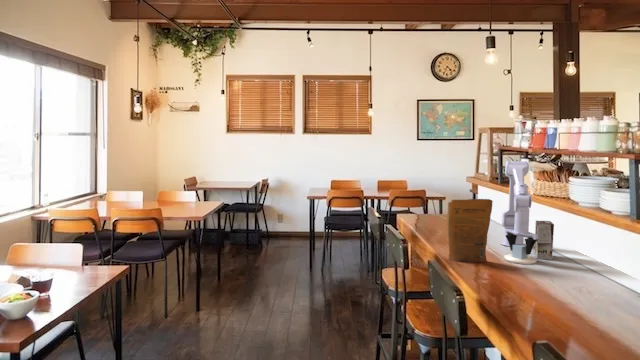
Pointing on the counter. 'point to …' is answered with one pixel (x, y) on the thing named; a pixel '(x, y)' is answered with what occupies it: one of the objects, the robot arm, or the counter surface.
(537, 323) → the counter surface
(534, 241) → the robot arm
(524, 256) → the block
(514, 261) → the saucer
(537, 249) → the coffee box
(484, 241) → the pancake mix bag
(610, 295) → the counter surface
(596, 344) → the counter surface
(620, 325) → the counter surface
